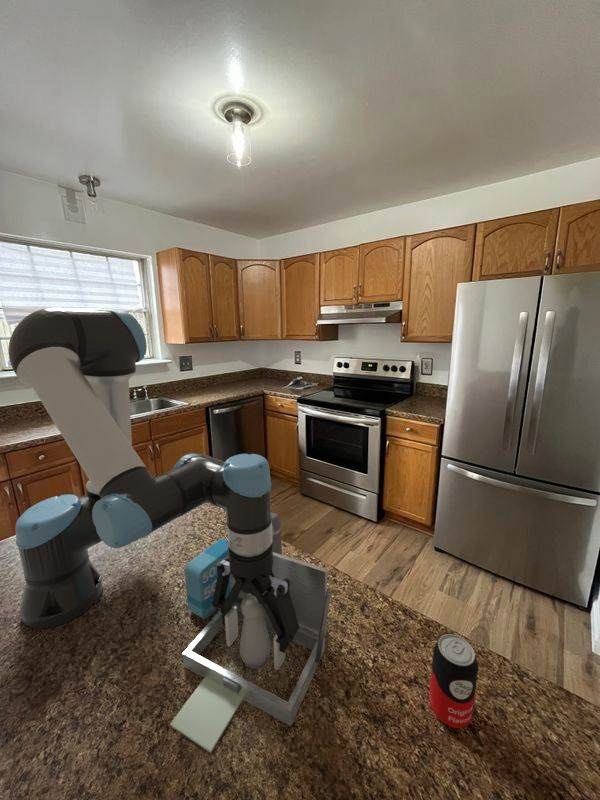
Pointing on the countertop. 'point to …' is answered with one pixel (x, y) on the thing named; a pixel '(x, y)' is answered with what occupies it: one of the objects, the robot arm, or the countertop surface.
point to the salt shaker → (254, 634)
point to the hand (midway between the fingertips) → (255, 650)
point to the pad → (206, 714)
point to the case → (312, 621)
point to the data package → (204, 578)
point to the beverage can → (453, 681)
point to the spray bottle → (276, 534)
